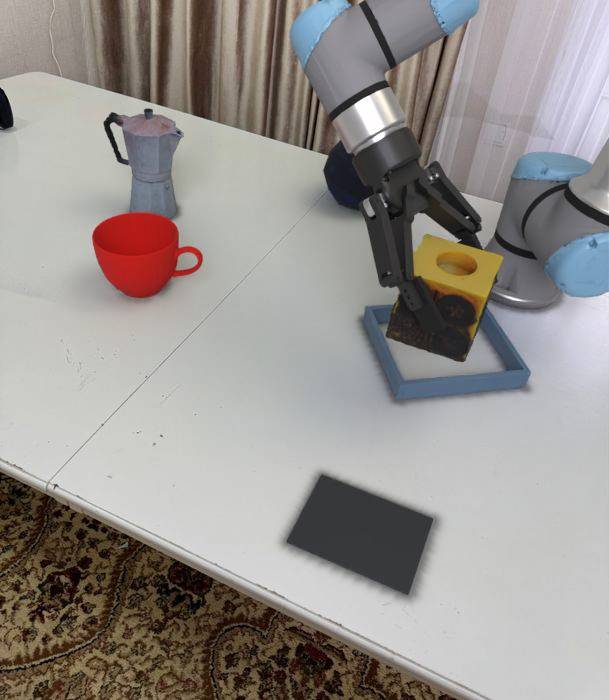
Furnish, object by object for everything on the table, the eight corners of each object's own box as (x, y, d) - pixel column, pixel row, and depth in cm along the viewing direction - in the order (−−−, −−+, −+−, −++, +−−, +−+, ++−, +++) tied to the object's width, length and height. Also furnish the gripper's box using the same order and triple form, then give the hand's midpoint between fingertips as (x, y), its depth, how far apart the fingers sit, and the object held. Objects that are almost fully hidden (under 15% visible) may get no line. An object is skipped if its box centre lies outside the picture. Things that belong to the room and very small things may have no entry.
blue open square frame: (476, 312, 102) (481, 297, 100) (525, 387, 90) (531, 372, 88) (362, 320, 99) (365, 305, 97) (396, 400, 86) (399, 385, 84)
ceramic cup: (191, 320, 96) (188, 266, 89) (87, 303, 97) (76, 248, 91) (215, 274, 106) (213, 222, 99) (120, 258, 107) (112, 206, 100)
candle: (383, 338, 76) (397, 271, 70) (408, 296, 83) (423, 231, 77) (464, 366, 73) (487, 299, 67) (483, 319, 80) (505, 254, 74)
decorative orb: (319, 156, 131) (327, 116, 116) (389, 159, 132) (406, 120, 117) (319, 219, 128) (326, 187, 114) (390, 222, 129) (407, 190, 115)
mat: (286, 542, 68) (287, 540, 68) (321, 476, 75) (321, 474, 75) (408, 595, 65) (408, 593, 65) (432, 520, 72) (433, 518, 72)
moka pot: (181, 230, 115) (173, 124, 102) (103, 217, 117) (85, 111, 104) (198, 206, 122) (192, 104, 109) (124, 194, 124) (109, 92, 111)
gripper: (412, 129, 81) (485, 275, 84) (289, 186, 66) (384, 361, 70) (457, 99, 75) (534, 258, 78) (333, 156, 60) (434, 348, 64)
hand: (463, 307), depth 74 cm, fingers closed on candle, 12 cm apart
